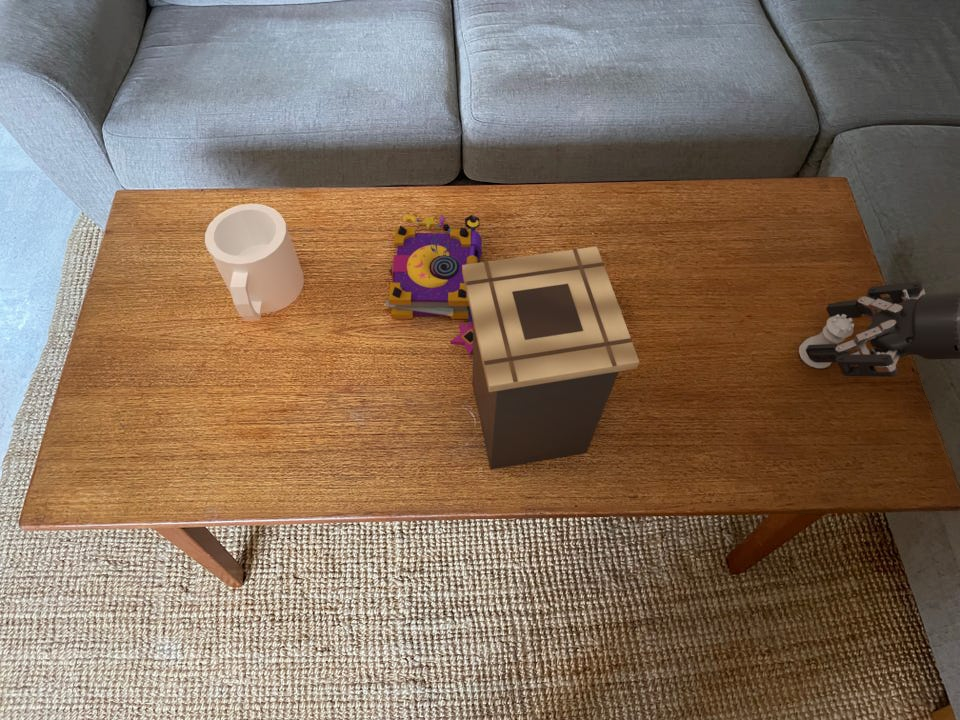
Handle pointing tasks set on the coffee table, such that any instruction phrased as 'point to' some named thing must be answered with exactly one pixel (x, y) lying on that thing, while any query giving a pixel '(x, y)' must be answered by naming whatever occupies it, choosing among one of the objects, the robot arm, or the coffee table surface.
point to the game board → (547, 319)
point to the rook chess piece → (828, 337)
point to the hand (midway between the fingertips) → (819, 332)
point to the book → (434, 273)
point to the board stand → (538, 416)
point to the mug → (255, 259)
